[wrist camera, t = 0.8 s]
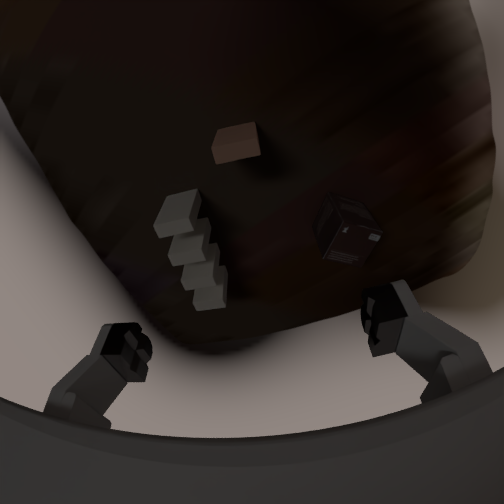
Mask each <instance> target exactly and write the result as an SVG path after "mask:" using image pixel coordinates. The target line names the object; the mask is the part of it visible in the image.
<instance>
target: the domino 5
mask: <svg viewBox="0 0 504 504" xmlns="http://www.w3.org/2000/svg"><path fill="white" fill-rule="evenodd" d="M211 149H212V152H213V156H214V159H215V162H216V164H220V163H225V162H229V161H234V160H239V159H243V158H248V157H253V156H258V155H261V153H260V146H259V139H258V133H257V129H256V124H255V122H250V123H245V124H241V125H236V126H232V127H227V128H223V129H219V130H218V131H217V134H216V136H215V139H214V142H213V144H212V147H211Z"/></svg>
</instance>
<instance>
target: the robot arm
mask: <svg viewBox="0 0 504 504" xmlns="http://www.w3.org/2000/svg"><path fill="white" fill-rule="evenodd" d="M362 300H363V305H362V306H361V321H362V326H363V329H364V332H365V333H367V334H368V335H369V337H368V344H369V347H370V350H371V353H372V356H373V357H376V356H380V355H385V354H389V353H393V352H396V354H397V355H398V356H399V357H400V358H402V359H403V360H404V361H405V362H406V363H407V364H408V365H410V366H411V367H412V368H413V369H414V370H415V371H416V372H417V373H419V374H420V375H421V376H422V377H423V378H424V379H426V380H427V381H428V382H429V383H428V385H427V386H426V388H425V390H424V391H423V393H422V395H421V397H420V399H421V402H422V404H419V405H416V406H413V407H411V408H407V409H404V410H401V411H398V412H394V413H391V414H387V415H384V416H380V417H377V418H373V419H369V420H365V421H361V422H357V423H352V424H347V425H343V426H337V427H332V428H326V429H320V430H315V431H308V432H301V433H293V434H284V435H274V436H261V437H245V438H188V437H171V436H159V435H149V434H141V433H133V432H125V431H120V430H113V429H110V428H111V422H110V421H109V420H108V419H107V418H105V417H104V416H103V414H104V413H105V412H106V410H107V409H108V408H109V407H110V405H111V404H112V403H113V401H114V400H115V399H116V397H117V396H118V395H119V394H120V392H121V391H122V390H123V388H124V387H125V386H126V385H127V382H145V380H146V376H147V372H148V366H147V364H146V363H147V362H148V361H149V360H150V359H151V356H152V353H153V352H152V344H151V341H150V339H149V338H148V336H146V335H145V334H143V333H141V331H142V328H141V327H140V325H139V324H138V323H135V322H132V323H114V324H104V325H103V326H102V328H101V330H100V332H99V335H98V337H97V339H96V341H95V343H94V346H93V348H92V351H91V353H90V355H86V357H84V358H83V359H82V360H81V361H80V362H79V363H78V364H77V365H76V366H75V367H74V368H73V369H72V370H71V371H70V372H68V374H66V375H65V376H64V377H63V378H62V379H61V380H60V381H59V382H58V383H57V384H56V385H55V386H54V387H53V388H52V390H51V393H50V395H49V397H48V401H47V403H46V405H45V408H44V411H43V412H39V411H36V410H33V409H30V408H28V407H25V406H22V405H19V404H17V403H14V402H11V401H8V400H6V399H4V398H2V397H0V504H504V367H503V368H501V369H499V370H497V371H495V372H494V373H493V372H492V370H491V368H490V366H489V364H488V361H487V359H486V358H485V356H484V354H483V352H482V350H481V348H480V346H479V344H478V342H476V341H474V340H473V339H471V338H470V337H468V336H466V335H464V334H463V333H461V332H460V331H458V330H457V329H455V328H453V327H452V326H450V325H448V324H446V323H445V322H443V321H442V320H440V319H438V318H437V317H435V316H433V315H432V314H430V313H428V312H424V313H423V311H422V310H421V308H420V306H419V304H418V302H417V300H416V299H415V297H414V296H413V293H412V292H411V290H410V288H409V286H408V285H407V283H406V281H404V280H399V281H395V282H391V283H387V284H382V285H378V286H374V287H369V288H365V289H363V290H362Z"/></svg>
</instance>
